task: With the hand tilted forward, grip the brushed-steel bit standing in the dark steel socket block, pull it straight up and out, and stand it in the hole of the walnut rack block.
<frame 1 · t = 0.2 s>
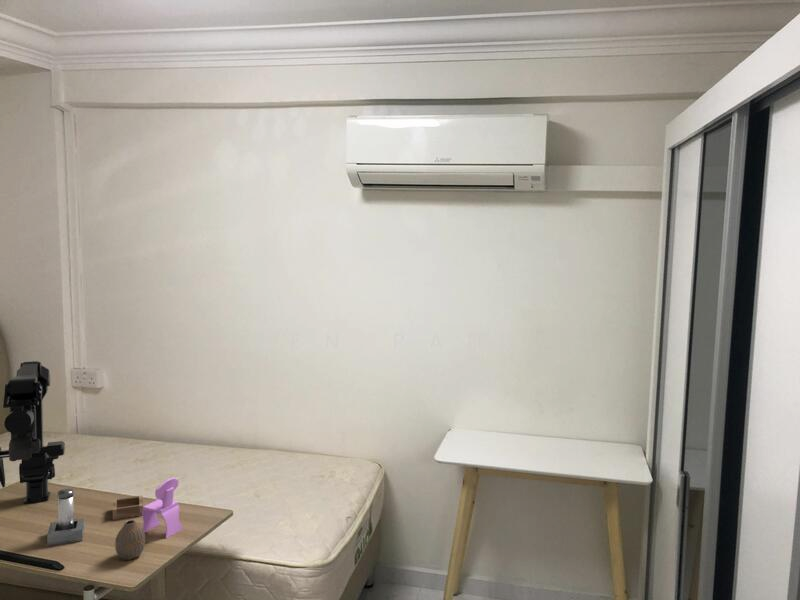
hand: (24, 484, 158), 14 cm above the table, tool pointing down, fingers open, 9 cm apart
vase: (130, 556, 150), on the table
rack block: (128, 512, 175), on the table
steel bit: (66, 537, 159), resting in socket block
socket block: (66, 536, 159), on the table
toy chair: (162, 531, 164), on the table
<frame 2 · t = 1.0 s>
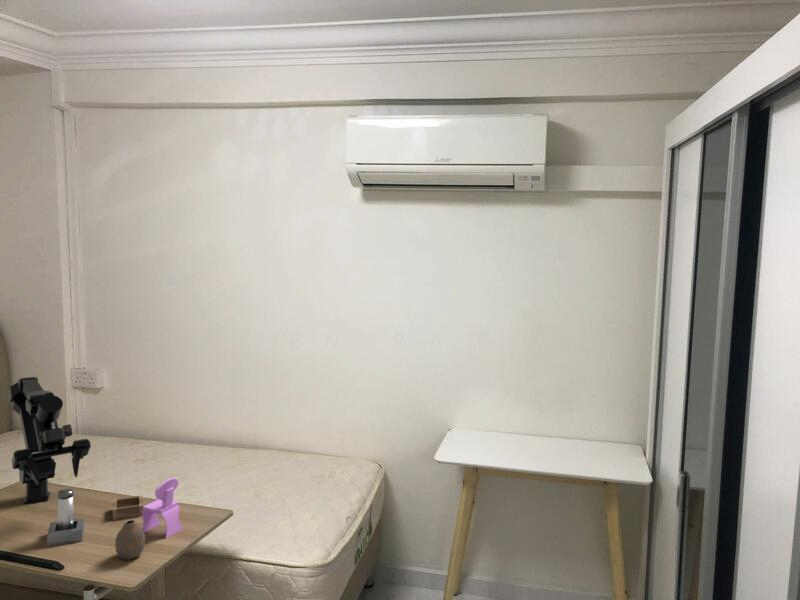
hand: (57, 480, 164), 13 cm above the table, tool tilted 45°, fingers open, 9 cm apart
nothing on the table moved.
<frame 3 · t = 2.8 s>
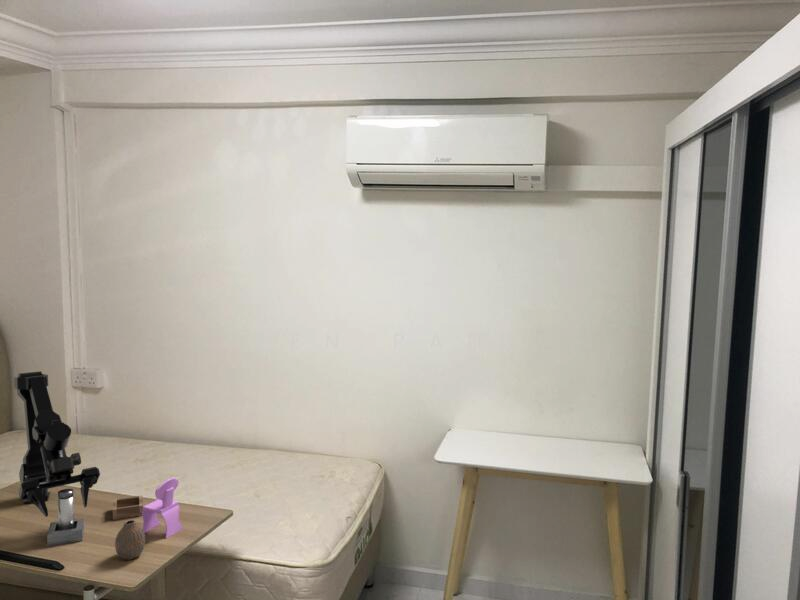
hand: (66, 511, 158), 7 cm above the table, tool tilted 45°, fingers open, 9 cm apart
nothing on the table moved.
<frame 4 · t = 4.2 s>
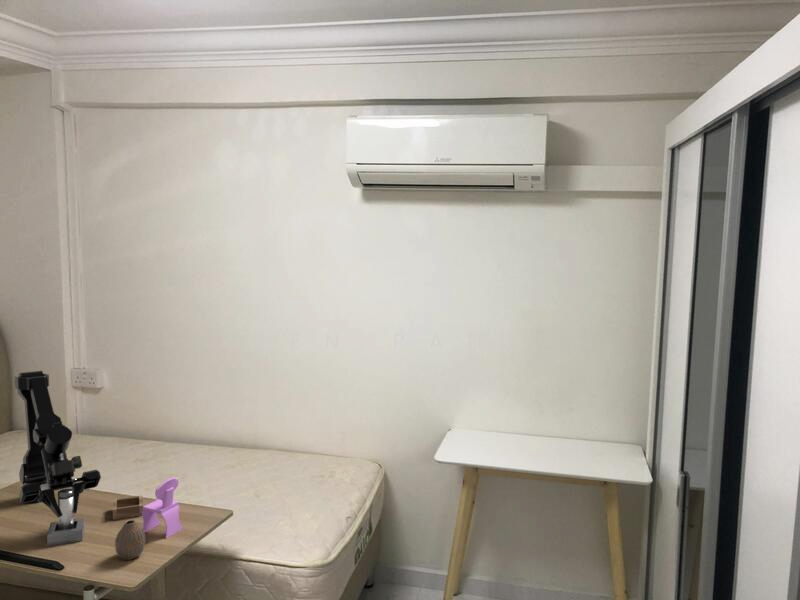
hand: (67, 514, 158), 7 cm above the table, tool tilted 45°, fingers closed on steel bit, 4 cm apart
steel bit: (66, 537, 159), resting in socket block, touching gripper
everything else where it was.
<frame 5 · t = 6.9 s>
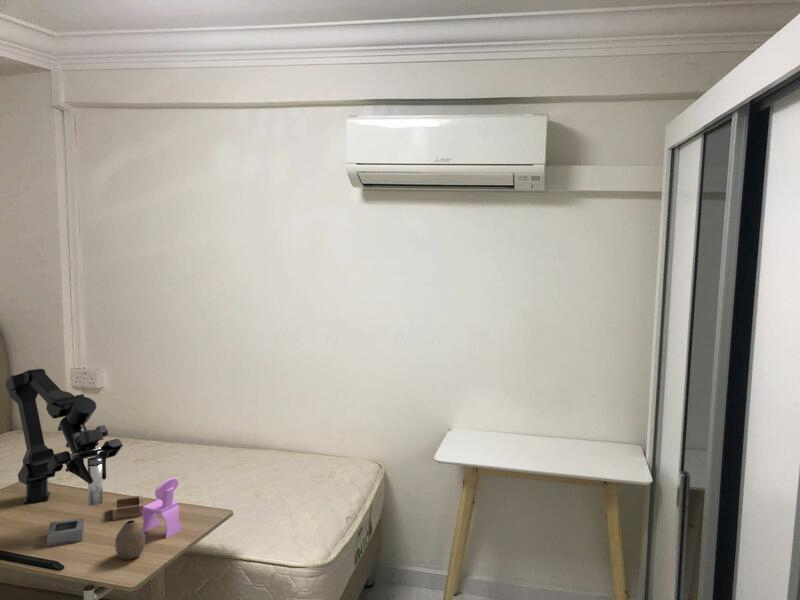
hand: (98, 480, 164), 13 cm above the table, tool tilted 45°, fingers closed on steel bit, 4 cm apart
steel bit: (95, 503, 165), point 7 cm above the table, touching gripper
everything else where it was.
when the fingers open (8 cm above the table, at t = 9.8 s): steel bit drops 1 cm, resting in rack block.
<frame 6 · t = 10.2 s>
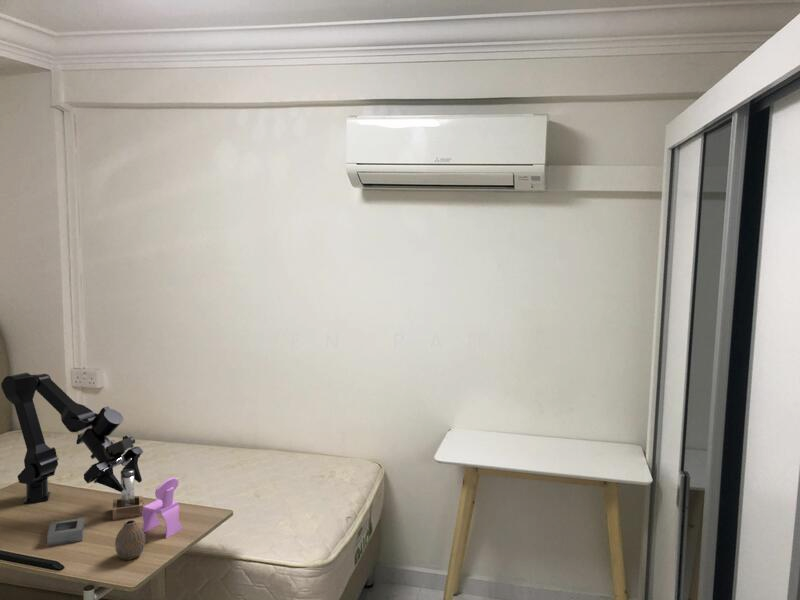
hand: (131, 486, 175), 8 cm above the table, tool tilted 45°, fingers open, 7 cm apart
steel bit: (128, 512, 175), resting in rack block
everything else where it was.
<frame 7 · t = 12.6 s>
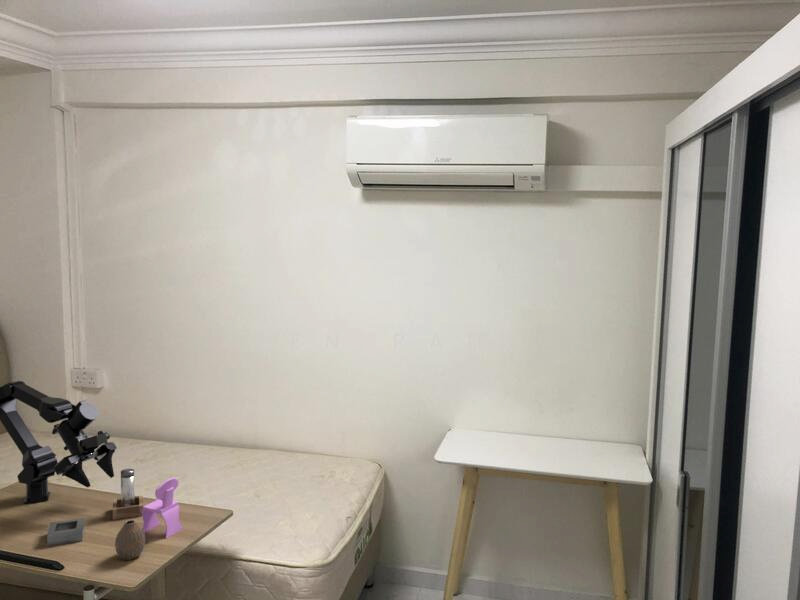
hand: (101, 481, 176), 9 cm above the table, tool tilted 40°, fingers open, 9 cm apart
nothing on the table moved.
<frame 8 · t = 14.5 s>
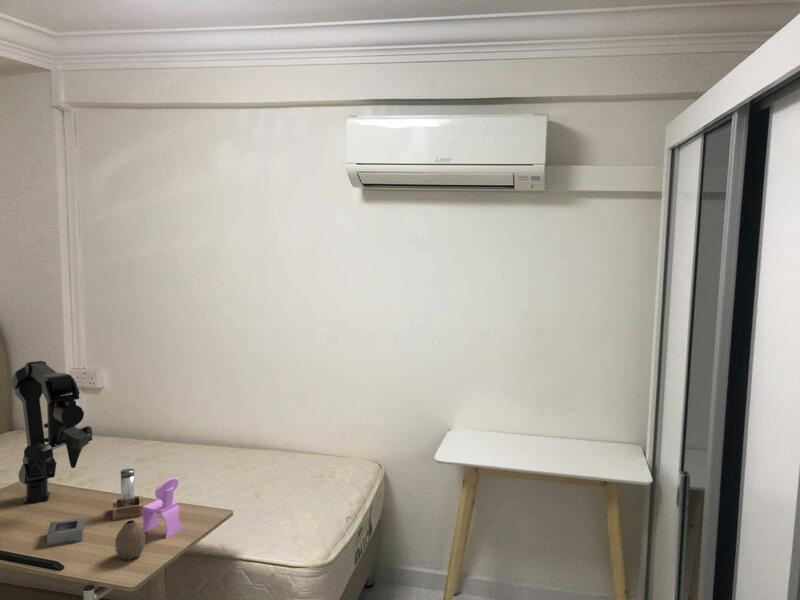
hand: (60, 473, 171), 13 cm above the table, tool pointing down, fingers open, 9 cm apart
nothing on the table moved.
at the end: steel bit 0.0 cm from the target spot, resting in rack block; steel bit tilted 0°; the gripper is holding nothing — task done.
